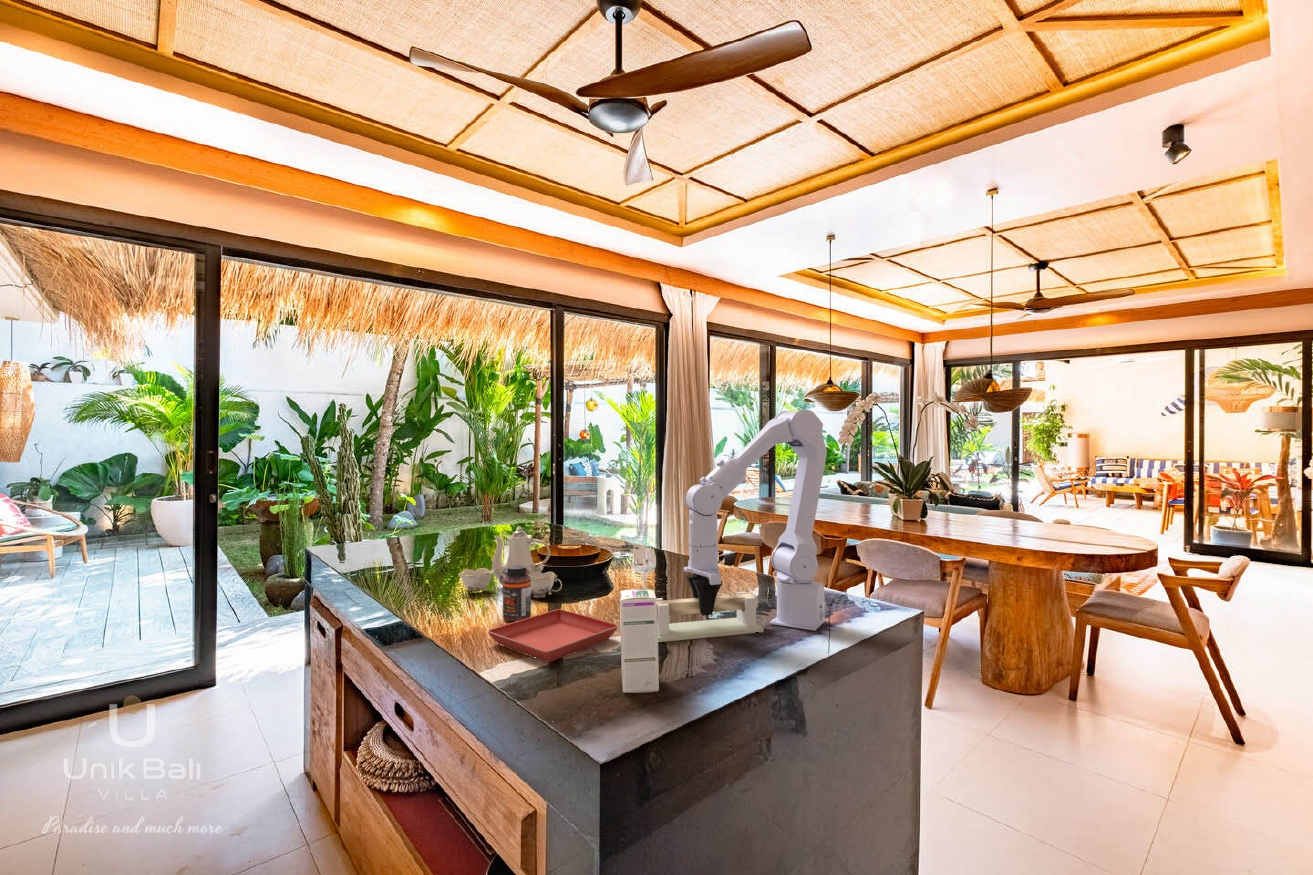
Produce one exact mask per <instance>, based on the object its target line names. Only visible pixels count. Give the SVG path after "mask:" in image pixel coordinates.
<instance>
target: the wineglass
mask: <svg viewBox="0 0 1313 875" xmlns="http://www.w3.org/2000/svg"><path fill="white" fill-rule="evenodd" d="M631 560H632V568H633V570H634V571H635V572H636V573H638V574H640V575H642V578H641V579H642V583H643V584H642V585H643V589H646V584H647V575H649V574H652V572H653V571H654V570H656V566H657V557H656V552H655V549H654V547H653V546H647V545H646V546H645V545H644V546H643V545H641V546H635V547H634V549H633V554H632V558H631Z"/></svg>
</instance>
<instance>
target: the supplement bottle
mask: <svg viewBox="0 0 1313 875" xmlns="http://www.w3.org/2000/svg"><path fill="white" fill-rule="evenodd" d="M507 573H508V574H507V576H506V577H505V578H504V579H503V585H502V619H503V620H504V621H506V622H508V621H514V622H516V621H520V620H523V619H526V618H530V617H532V616H531V615H532V593H531V578H530V577H529V576H528V575H527V574H526V566H525V565H512V566H509V567H508V568H507Z"/></svg>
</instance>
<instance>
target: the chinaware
mask: <svg viewBox="0 0 1313 875" xmlns="http://www.w3.org/2000/svg"><path fill="white" fill-rule="evenodd" d="M515 530H516V531H513V533H511V534H512V535H509V536H507V537H506V539H507V543H508V557H507V560H506V564H505V563H503V561H502V556H503V547H504V545H503V540H502V538H501V537H500V536H499V535H494V536H493V537H494V539H495V540H496V548H495V552H494V554H493V558H492V560H491V570H489V569H488V568H486V567H482V568H478V569H475V570H474V569H471V568H469V569H468V568H467V569H464V570H463V571H462V572H458V573H457V576H459V577H460V579H461V581H462V584H463V586H464V588H466V589H467V590H469V591H470V592H471V591H480V590H482V591H483V590H484V589H486V588H487V587H488V585H489V584H490V582H491V578H492V575H493V576H494V577H495V578H496V579H497V580H498V581H499V583H500V585H501V586H503V579H504V578H505V577H506V576H507V574H508V573H507V568H508V567H509V566H512V565H525V566H526V574H527V575H528V576H529V577H530V578H531V595H532V598H537V599H538V598H545V597H546V596H545V595H546V594H548V595H549V596H551V595H552V592H555V593H556V592H557V593H558V592H559V591H561V590H562V587H563V584H562V581H561V580H560V579H559V578H557V577H558V575H557V574H555V572H553V571H547V572H542V571H543V569H544V565H543V564H545V563H547V561H548V560H549V558H550V557H551V556H550V555H551V549H550V547H549V545H548V544H547V543H546V541H543V540H541V539H532V537H533V535H531V534H527V533H526V531H524V530H523V528H522V526H521V525H518V526H517V528H516V529H515ZM536 543H541V544H542V545H544V546H545V548H546V551H547V555H546V557H545V559H544V560H543V561H541V562H538V563H534V561H533V557H532V555H531V547H532V548H536V546H537V544H536ZM557 581H559V584H560V587H559V589H557V590H556V589H555V590H554V589H552V587H553V586H554V582H556V583H557Z"/></svg>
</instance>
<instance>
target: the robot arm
mask: <svg viewBox="0 0 1313 875" xmlns="http://www.w3.org/2000/svg"><path fill="white" fill-rule="evenodd" d="M823 427H824V423H823V421H821V419H820V417H818V416H817V414H816V413H815V412H814V411H812V410H810V409H805V408H803V409H800V410H793V411H791V410H790V411H789V410H783V411H780V412H779V413H777V414H776V415H775V417H774V418H772V419H770V420H769V421H768V422H767V423H766V424H765V425H764V427H763V428H762V429H761V430H760V431H759V432H758V433H757V434H755V436H754V437H753V438H752V439H751V440H750V441H749V442H747V444H746V445H745V446H744V448H743V449H742V450H741V451H740V452H739V453H738V454H737V455H736V456H735V457H725V458H724V459H719V460H718V461H717V462H716V463H715V465H716V467H715V468H713V469H712V470H711V471H710V472H709V473H708V474H707V475H706V476H702V477H701V478H700V479H699V482H700V483H699V484H693V485H692V486H691V487H690V488H689V489H688V490H687V492H686V496H685V497H684V498H683V500H684V504H685V506H686V508H687V509H688V551H689V552H688V553H689V554H688V555H689V556H688V558H689V559H688V562H687V563H688V565H687V566H684V567H683V571H684V572H685V573H691V574H687V575H686V576H685V577H686V580H687V582H688V584H689V586H690V589H691V592H692V596H693V597H692V598H698V599H699V606H700V612H701V613H700V614H701V616H712V615H713V613H714V612H713V609H714V604H715V600H716V596H718V593H719V590H720V589H721V587H722V586H723V580H722V574H721V573H720V566H719V545H718V542H719V540H718V539H719V538H718V534H719V533H718V530H719V529H718V511H720V509H721V508H722V505H723V500H725V498H726V497H727V496H729V495H730V494H731V493H732V492H733V491H734V490H735V489H736V488H737V487H739V485H740V484H742V483H743V482H744V480H745V479H746V478H747V469H749V468H750V467H751V466H752V465H753V464H754V463H755V462H757V461H758V460H759V459H761V457H762V456H764V455H765V454H766V453H767V452H768V451H769V450H770V449H772V448H773V447H774V446H776V445H779V444H784V443H785V444H786V445H788V446H789V447H790V448H791V449H792V450H793V452H794V453H795V454H796V456H797V457H798V462H797V466H796V467H797V468H796V473H795V478H794V485H793V489H792V495H791V501H790V506H789V510H788V517H787V523H786V526H785V530H784V532H782V534H781V535H780V536H779V537H778V540H777V541H778V542H777V545H776V546H775V548H774V549H773V550H772V553H771V555H770V563H771V565H772V567H773V568H774V570H775V571H776V617H774V618H773V619H771V621H770V622H769V624H771V625H776V626H780V627H781V626H783V627H788V628H796V629H803V630H807V631H808V630H809V631H816V630H818V628H820V627H821V626H822V625H823V624H824V623H825V622H826V621H827V619H826V617H825V616H826V615H825V613H826V611H825V610H826V608H825V607H826V606H825V605H826V604H825V601H826V599H825V592H826V591H825V587H824V584H823V583H822V582H820V581H819V582H817V581H814V580H813V579H814V578H815V576H816V575H817V572H818V570H819V562H818V559H817V551H818V547H817V545H816V542H815V540H814V538H813V531H814V526H815V521H816V516H817V510H818V504H819V499H820V498H819V497H820V493H821V487H822V482H823V477H824V471H825V465H826V460H827V447H826V443H825V440H824V436H823V429H824V428H823Z"/></svg>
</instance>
